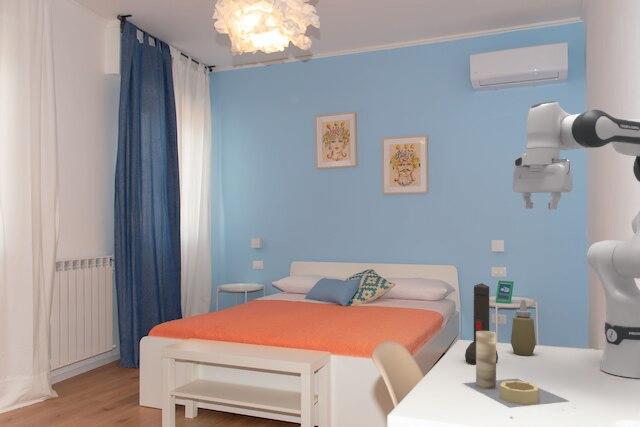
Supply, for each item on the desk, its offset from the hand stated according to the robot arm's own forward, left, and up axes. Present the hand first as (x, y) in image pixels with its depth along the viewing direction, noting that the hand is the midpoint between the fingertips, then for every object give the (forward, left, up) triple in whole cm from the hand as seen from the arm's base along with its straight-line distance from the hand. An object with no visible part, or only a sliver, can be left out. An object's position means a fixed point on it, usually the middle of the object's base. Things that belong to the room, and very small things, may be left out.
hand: (540, 208), depth 154 cm
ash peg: (+20, +4, -47) cm, 51 cm away
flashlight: (+5, -21, -48) cm, 53 cm away
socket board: (+16, +10, -48) cm, 52 cm away
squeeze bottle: (-16, -28, -48) cm, 58 cm away
